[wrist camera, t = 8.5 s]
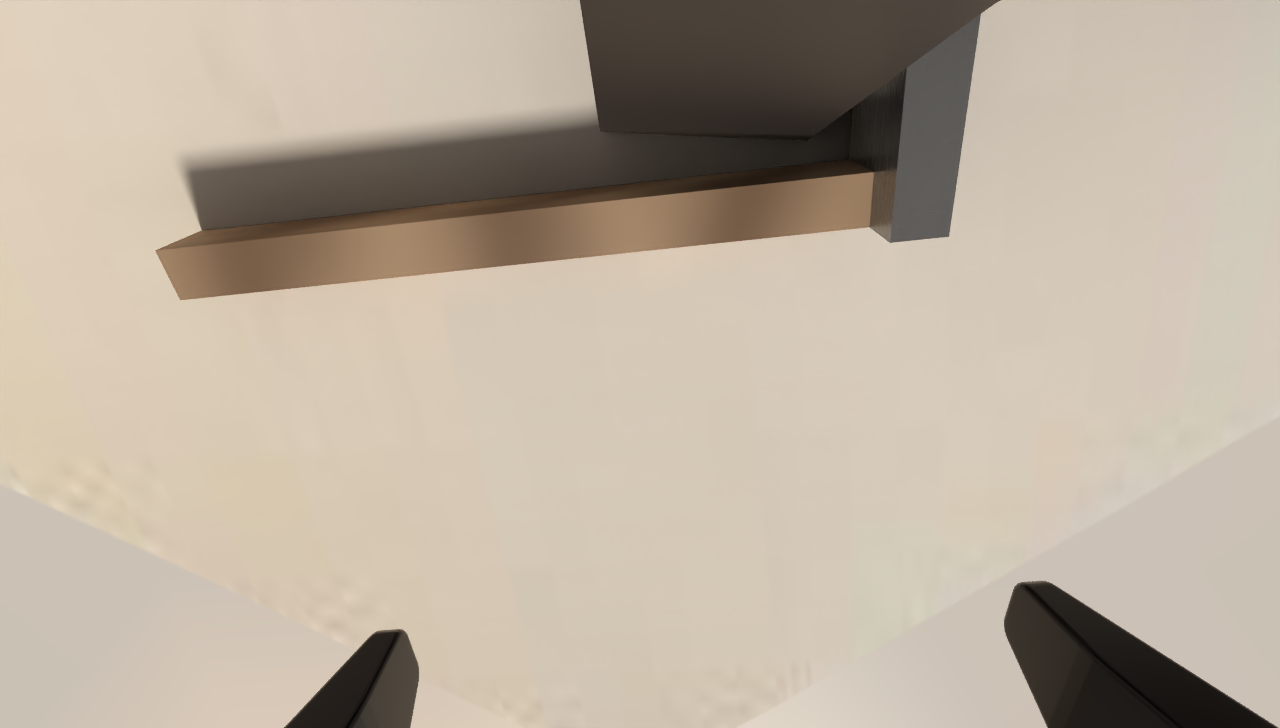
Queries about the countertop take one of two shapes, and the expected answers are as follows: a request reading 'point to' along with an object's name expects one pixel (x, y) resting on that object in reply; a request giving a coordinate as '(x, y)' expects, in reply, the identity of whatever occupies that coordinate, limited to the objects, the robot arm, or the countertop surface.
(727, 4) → the phone stand
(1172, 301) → the countertop surface
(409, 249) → the guide track
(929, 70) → the end stop
